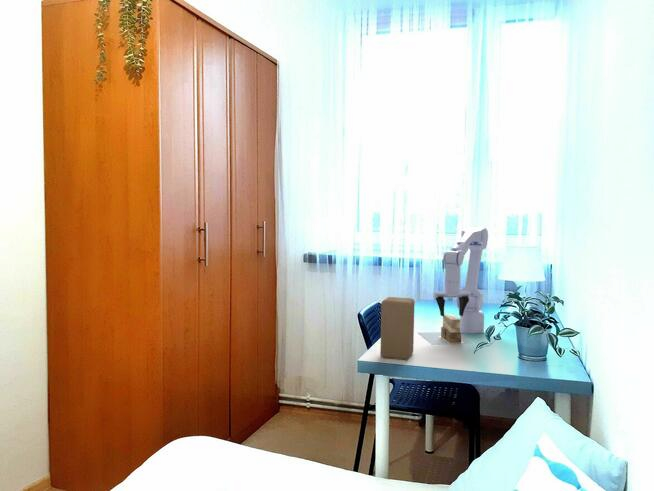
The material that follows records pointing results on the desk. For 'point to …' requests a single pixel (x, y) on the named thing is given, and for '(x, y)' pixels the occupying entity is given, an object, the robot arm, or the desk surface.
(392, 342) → the wooden block
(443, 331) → the brown wooden cube
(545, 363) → the desk surface
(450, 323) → the tan rectangular block
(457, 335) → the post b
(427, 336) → the board
